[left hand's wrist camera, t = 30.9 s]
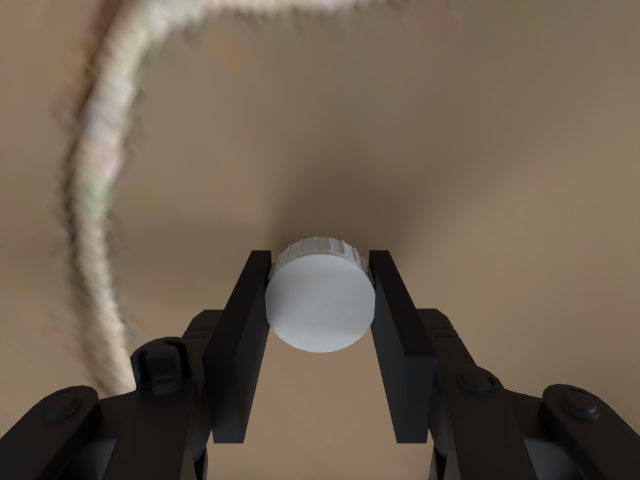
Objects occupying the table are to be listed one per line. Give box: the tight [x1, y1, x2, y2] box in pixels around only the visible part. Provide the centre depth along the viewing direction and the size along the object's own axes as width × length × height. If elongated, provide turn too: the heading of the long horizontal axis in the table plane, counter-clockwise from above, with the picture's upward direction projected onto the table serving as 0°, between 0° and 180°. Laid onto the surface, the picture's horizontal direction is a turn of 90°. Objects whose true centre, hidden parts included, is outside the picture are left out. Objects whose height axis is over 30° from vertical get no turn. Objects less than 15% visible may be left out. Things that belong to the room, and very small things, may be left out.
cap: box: [265, 236, 375, 353], centre depth 14 cm, size 4×4×2 cm
